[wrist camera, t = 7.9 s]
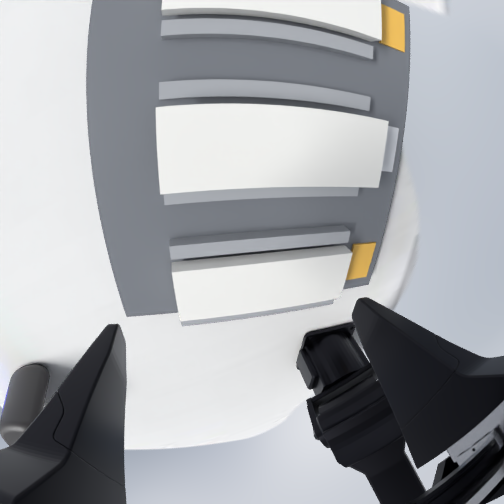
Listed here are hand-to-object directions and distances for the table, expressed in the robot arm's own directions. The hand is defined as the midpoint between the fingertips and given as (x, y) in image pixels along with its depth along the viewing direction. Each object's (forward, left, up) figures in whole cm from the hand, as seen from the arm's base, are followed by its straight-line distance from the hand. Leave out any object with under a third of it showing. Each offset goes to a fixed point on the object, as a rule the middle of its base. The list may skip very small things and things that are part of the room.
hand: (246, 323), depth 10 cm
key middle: (-4, -5, -7) cm, 9 cm away
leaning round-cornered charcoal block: (+26, +22, -12) cm, 36 cm away
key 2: (-4, -15, -9) cm, 17 cm away
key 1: (-4, +5, -9) cm, 11 cm away
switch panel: (-4, -5, -11) cm, 13 cm away
